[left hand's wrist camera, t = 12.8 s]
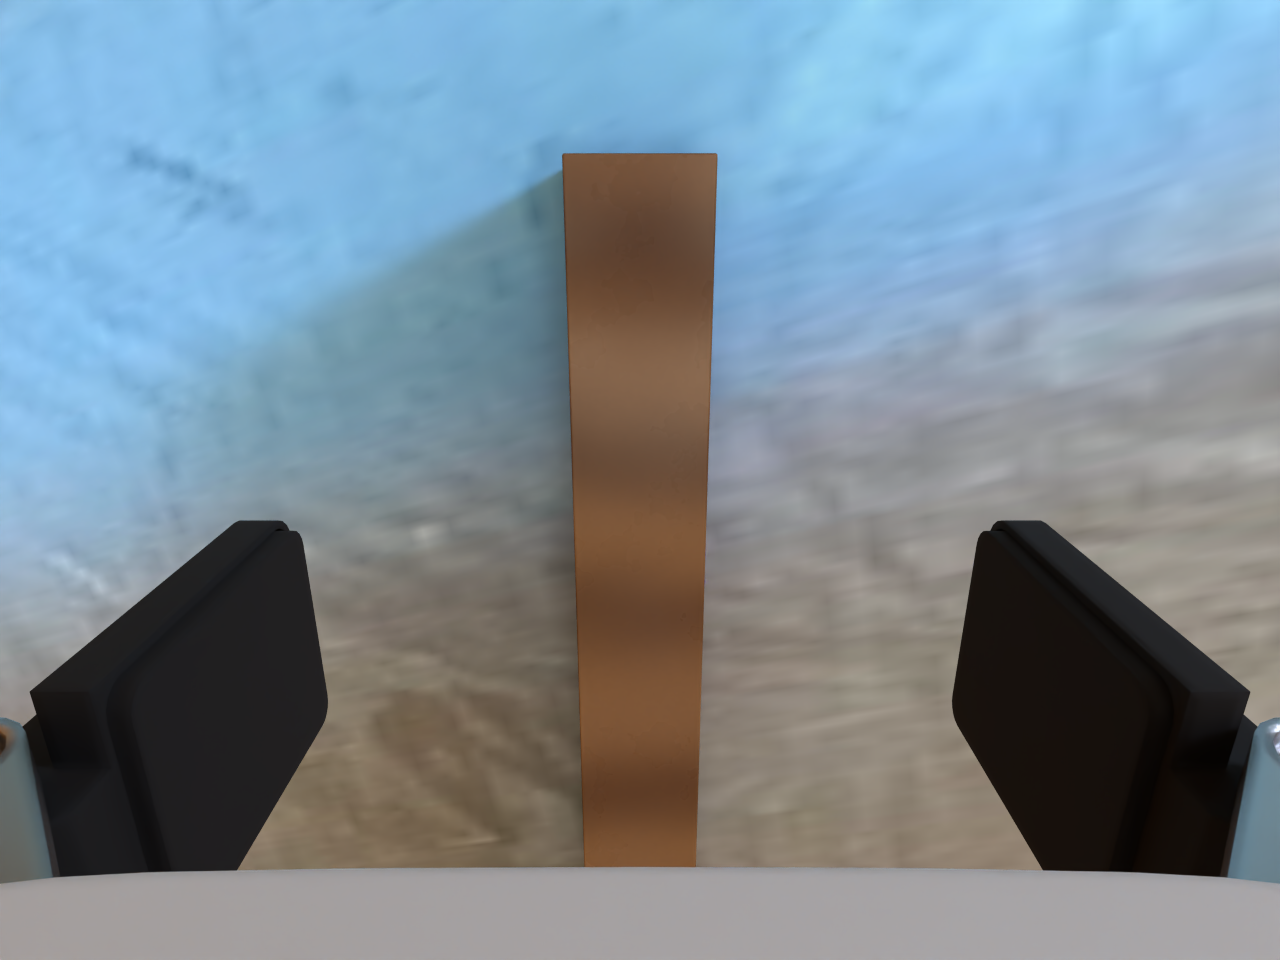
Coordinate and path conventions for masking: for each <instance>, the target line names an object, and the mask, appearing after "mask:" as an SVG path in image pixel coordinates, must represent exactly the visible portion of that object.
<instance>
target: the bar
mask: <svg viewBox="0 0 1280 960" xmlns="http://www.w3.org/2000/svg"><path fill="white" fill-rule="evenodd" d="M717 156H718V155H717V154H716V153H564V154H563V155H562V164H563V196H564V228H565V260H566V292H567V324H568V356H569V388H570V420H571V452H572V484H573V516H574V548H575V580H576V612H577V644H578V676H579V708H580V740H581V772H582V804H583V836H584V867H696V840H697V807H698V774H699V742H700V709H701V677H702V644H703V612H704V579H705V547H706V514H707V482H708V449H709V417H710V384H711V351H712V319H713V286H714V254H715V221H716V189H717Z"/></svg>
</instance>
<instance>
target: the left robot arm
mask: <svg viewBox="0 0 1280 960" xmlns="http://www.w3.org/2000/svg"><path fill="white" fill-rule="evenodd" d="M30 695H31V698H32V701H33V704H34V707H35V711H36V714H37V715H35V716H34V717H33V718H32V719H31V720H30V721H29V722H27V723H26V724H25V725H24V726H23V727H22V726H21V724H20V723H18V722H15V721H12V720H10V719H7V718H0V960H1280V718H1273V719H1270V720H1268V721H1265V722H1262V723H1260V724H1259V726H1258V727H1257V726H1256V725H1255V724H1254V723H1253V722H1251V721H1250V720H1249V719H1248V718H1247V717H1246V716H1245V715H1243V714H1244V711H1245V707H1246V704H1247V701H1248V698H1249V695H1250V691H1249V690H1248V689H1246V688H1245V687H1244V686H1243V685H1242V684H1240V683H1239V682H1238V681H1237V680H1235V679H1234V678H1233V677H1232V676H1231V675H1229V674H1228V673H1227V672H1226V671H1225V670H1223V669H1222V668H1221V667H1220V666H1218V665H1217V664H1216V663H1215V662H1214V661H1212V660H1211V659H1210V658H1209V657H1208V656H1206V655H1205V654H1204V653H1203V652H1201V651H1200V650H1199V649H1198V648H1197V647H1195V646H1194V645H1193V644H1192V643H1191V642H1189V641H1188V640H1187V639H1186V638H1184V637H1183V636H1182V635H1181V634H1180V633H1178V632H1177V631H1176V630H1175V629H1174V628H1172V627H1171V626H1170V625H1169V624H1167V623H1166V622H1165V621H1164V620H1163V619H1161V618H1160V617H1159V616H1158V615H1157V614H1155V613H1154V612H1153V611H1152V610H1150V609H1149V608H1148V607H1147V606H1146V605H1144V604H1143V603H1142V602H1141V601H1140V600H1138V599H1137V598H1136V597H1135V596H1133V595H1132V594H1131V593H1130V592H1129V591H1127V590H1126V589H1125V588H1124V587H1123V586H1121V585H1120V584H1119V583H1118V582H1116V581H1115V580H1114V579H1113V578H1112V577H1110V576H1109V575H1108V574H1107V573H1106V572H1104V571H1103V570H1102V569H1101V568H1100V567H1098V566H1097V565H1096V564H1095V563H1093V562H1092V561H1091V560H1090V559H1089V558H1087V557H1086V556H1085V555H1084V554H1083V553H1081V552H1080V551H1079V550H1078V549H1076V548H1075V547H1074V546H1073V545H1072V544H1070V543H1069V542H1068V541H1067V540H1066V539H1064V538H1063V537H1062V536H1061V535H1059V534H1058V533H1057V532H1056V531H1055V530H1053V529H1052V528H1051V527H1050V526H1049V525H1047V524H1046V523H1044V522H1042V521H997V522H996V523H995V524H994V525H993V527H992V529H991V531H983V532H982V533H981V534H980V536H979V538H978V542H977V546H976V553H975V559H974V565H973V571H972V577H971V584H970V590H969V596H968V602H967V609H966V615H965V621H964V627H963V633H962V640H961V646H960V652H959V658H958V665H957V671H956V677H955V683H954V690H953V697H952V708H953V714H954V718H955V721H956V723H957V726H958V727H959V729H960V731H961V732H962V734H963V736H964V737H965V739H966V741H967V742H968V744H969V746H970V748H971V749H972V751H973V753H974V754H975V756H976V758H977V759H978V761H979V763H980V764H981V766H982V768H983V770H984V771H985V773H986V775H987V776H988V778H989V780H990V781H991V783H992V785H993V786H994V788H995V790H996V792H997V793H998V795H999V797H1000V798H1001V800H1002V802H1003V803H1004V805H1005V807H1006V808H1007V810H1008V812H1009V813H1010V815H1011V817H1012V819H1013V820H1014V822H1015V824H1016V825H1017V827H1018V829H1019V830H1020V832H1021V834H1022V835H1023V837H1024V839H1025V841H1026V842H1027V844H1028V846H1029V847H1030V849H1031V851H1032V852H1033V854H1034V856H1035V857H1036V859H1037V861H1038V862H1039V864H1040V866H1041V868H1042V869H1043V871H1038V870H985V869H931V868H752V867H528V868H349V869H295V870H242V871H237V869H238V868H239V866H240V864H241V862H242V861H243V859H244V857H245V856H246V854H247V852H248V851H249V849H250V847H251V846H252V844H253V842H254V841H255V839H256V837H257V835H258V834H259V832H260V830H261V829H262V827H263V825H264V824H265V822H266V820H267V819H268V817H269V815H270V813H271V812H272V810H273V808H274V807H275V805H276V803H277V802H278V800H279V798H280V797H281V795H282V793H283V792H284V790H285V788H286V786H287V785H288V783H289V781H290V780H291V778H292V776H293V775H294V773H295V771H296V770H297V768H298V766H299V764H300V763H301V761H302V759H303V758H304V756H305V754H306V753H307V751H308V749H309V748H310V746H311V744H312V742H313V741H314V739H315V737H316V736H317V734H318V732H319V731H320V729H321V727H322V726H323V723H324V721H325V718H326V714H327V708H328V697H327V690H326V683H325V677H324V671H323V665H322V658H321V652H320V646H319V640H318V633H317V627H316V621H315V615H314V609H313V602H312V596H311V590H310V584H309V577H308V571H307V565H306V559H305V553H304V546H303V542H302V538H301V536H300V534H299V533H298V532H297V531H289V529H288V527H287V525H286V524H285V523H284V522H283V521H238V522H236V523H234V524H233V525H231V526H230V527H229V528H228V529H227V530H225V531H224V532H223V533H222V534H221V535H219V536H218V537H217V538H216V539H214V540H213V541H212V542H211V543H210V544H208V545H207V546H206V547H205V548H204V549H202V550H201V551H200V552H199V553H197V554H196V555H195V556H194V557H193V558H191V559H190V560H189V561H188V562H187V563H185V564H184V565H183V566H182V567H180V568H179V569H178V570H177V571H176V572H174V573H173V574H172V575H171V576H170V577H168V578H167V579H166V580H165V581H164V582H162V583H161V584H160V585H159V586H157V587H156V588H155V589H154V590H153V591H151V592H150V593H149V594H148V595H147V596H145V597H144V598H143V599H142V600H140V601H139V602H138V603H137V604H136V605H134V606H133V607H132V608H131V609H130V610H128V611H127V612H126V613H125V614H123V615H122V616H121V617H120V618H119V619H117V620H116V621H115V622H114V623H113V624H111V625H110V626H109V627H108V628H106V629H105V630H104V631H103V632H102V633H100V634H99V635H98V636H97V637H96V638H94V639H93V640H92V641H91V642H89V643H88V644H87V645H86V646H85V647H83V648H82V649H81V650H80V651H79V652H77V653H76V654H75V655H74V656H72V657H71V658H70V659H69V660H68V661H66V662H65V663H64V664H63V665H62V666H60V667H59V668H58V669H57V670H55V671H54V672H53V673H52V674H51V675H49V676H48V677H47V678H46V679H45V680H43V681H42V682H41V683H40V684H38V685H37V686H36V687H35V688H34V689H32V690H31V691H30Z"/></svg>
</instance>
